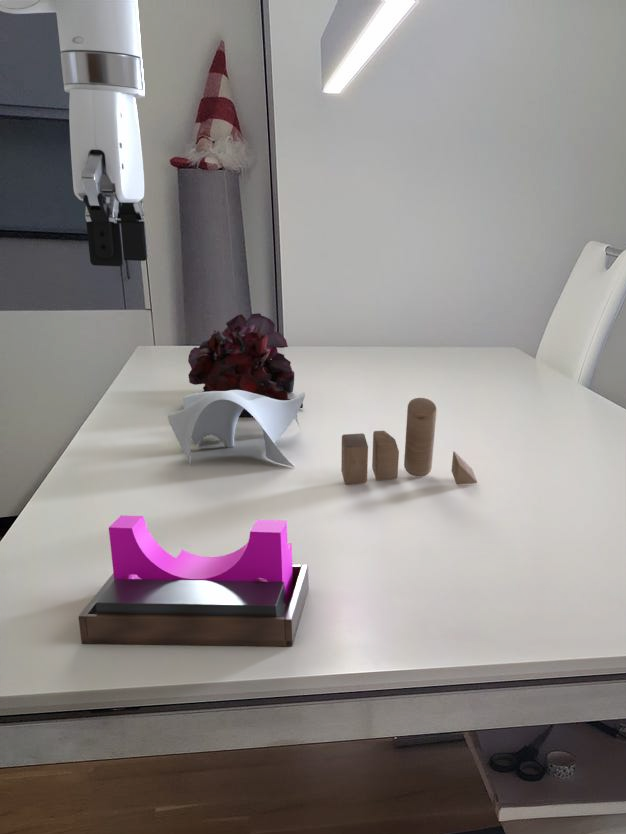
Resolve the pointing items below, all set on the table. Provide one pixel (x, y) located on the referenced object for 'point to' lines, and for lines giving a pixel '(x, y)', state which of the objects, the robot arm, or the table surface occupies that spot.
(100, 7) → the robot arm
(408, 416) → the wooden block set
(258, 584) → the wooden tray
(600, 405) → the table surface
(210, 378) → the flower arrangement
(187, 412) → the sculpture
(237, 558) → the toy block
